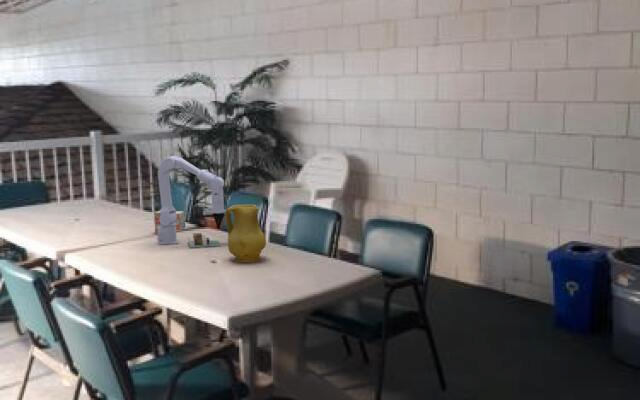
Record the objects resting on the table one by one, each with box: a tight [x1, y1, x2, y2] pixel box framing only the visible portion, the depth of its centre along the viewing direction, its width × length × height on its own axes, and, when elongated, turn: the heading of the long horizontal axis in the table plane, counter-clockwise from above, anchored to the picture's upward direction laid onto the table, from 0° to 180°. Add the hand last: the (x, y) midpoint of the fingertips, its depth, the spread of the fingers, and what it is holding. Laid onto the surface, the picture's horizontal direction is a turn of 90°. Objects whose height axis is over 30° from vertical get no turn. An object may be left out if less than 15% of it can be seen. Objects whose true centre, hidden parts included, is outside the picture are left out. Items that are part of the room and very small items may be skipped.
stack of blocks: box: [153, 208, 186, 235], centre depth 359 cm, size 21×6×12 cm, turn 161°
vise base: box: [187, 235, 221, 249], centre depth 325 cm, size 15×12×4 cm
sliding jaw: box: [202, 234, 211, 246], centre depth 325 cm, size 4×10×3 cm, turn 15°
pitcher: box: [224, 204, 267, 264], centre depth 295 cm, size 17×19×25 cm
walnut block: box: [192, 232, 203, 245], centre depth 324 cm, size 4×5×5 cm
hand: (218, 228), depth 326 cm, fingers closed
